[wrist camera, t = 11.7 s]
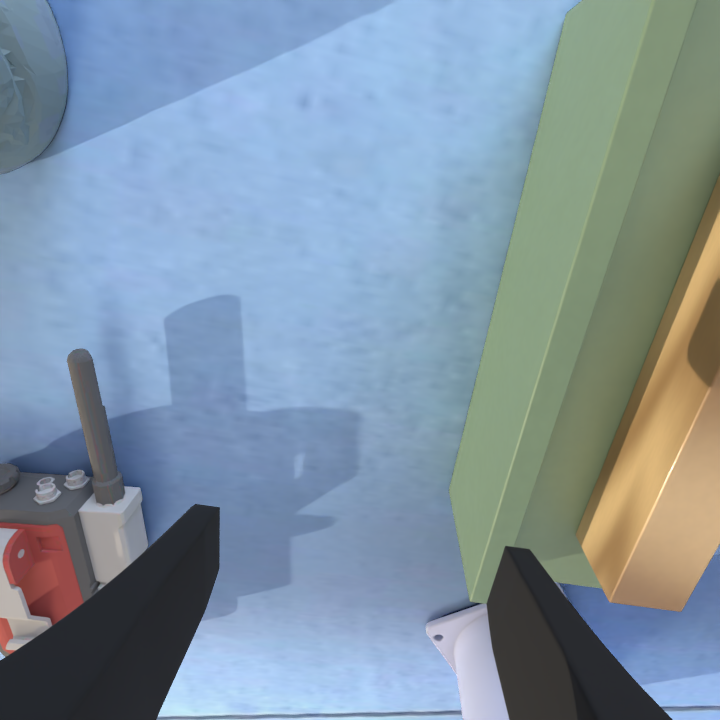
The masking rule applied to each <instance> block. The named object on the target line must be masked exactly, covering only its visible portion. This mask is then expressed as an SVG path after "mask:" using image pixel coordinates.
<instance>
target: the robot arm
mask: <svg viewBox="0 0 720 720" xmlns="http://www.w3.org/2000/svg"><path fill="white" fill-rule="evenodd" d="M219 526H220V507H213V506H205V505H198V504H195V505H194V506H192V507H191V508H190V509H189V510H188V511H187V512H186V513H185V514H184V515H183V516H182V517H181V518H180V519H179V520H178V521H177V522H176V523H174V524H173V525H172V526H171V527H170V528H169V529H168V530H167V531H166V532H165V533H164V534H163V535H162V536H161V537H160V538H159V539H158V540H157V541H156V542H154V543H153V544H152V545H151V546H150V547H149V548H148V549H147V550H146V551H144V552H143V553H142V554H141V555H140V556H139V557H138V558H137V559H136V560H134V561H133V562H132V563H131V564H130V565H129V566H128V567H127V568H125V569H124V570H123V571H122V572H121V573H119V574H118V575H117V576H116V577H115V578H113V579H112V580H111V581H110V582H108V583H107V584H106V585H105V586H104V587H102V588H101V589H100V590H99V591H97V592H96V593H95V594H94V595H93V596H91V597H90V598H89V599H88V600H86V601H85V602H84V603H82V604H81V605H80V606H78V607H77V608H76V609H74V610H73V611H72V612H70V613H69V614H68V615H66V616H65V617H64V618H62V619H61V620H59V621H58V622H57V623H55V624H54V625H52V626H51V627H50V628H48V629H47V630H45V631H44V632H43V633H41V634H40V635H38V636H37V637H35V638H34V639H32V640H31V641H29V642H28V643H26V644H25V645H23V646H22V647H20V648H19V649H17V650H16V651H14V652H13V653H11V654H10V655H8V656H7V657H5V658H3V659H2V660H0V720H156V719H157V716H158V714H159V712H160V709H161V707H162V705H163V702H164V700H165V698H166V696H167V694H168V691H169V689H170V687H171V685H172V683H173V680H174V678H175V676H176V674H177V672H178V669H179V667H180V665H181V663H182V661H183V659H184V656H185V654H186V652H187V650H188V648H189V645H190V643H191V641H192V639H193V637H194V634H195V632H196V630H197V628H198V625H199V623H200V621H201V619H202V617H203V614H204V612H205V610H206V607H207V604H208V601H209V598H210V595H211V592H212V589H213V586H214V583H215V580H216V577H217V574H218V571H219ZM426 633H427V635H428V636H429V637H430V639H431V640H432V642H433V643H434V644H435V646H436V647H437V648H438V650H439V651H440V653H441V654H442V655H443V657H444V658H445V659H446V661H447V662H448V663H449V665H450V666H451V668H452V669H453V670H454V672H455V673H456V674H457V680H458V687H459V695H460V702H461V709H462V717H463V720H672V719H671V718H670V717H669V715H668V714H667V713H666V712H665V711H664V710H663V709H662V708H661V707H660V706H659V705H658V704H657V703H656V702H655V701H654V700H653V699H652V698H651V697H650V696H649V695H648V694H647V693H646V692H645V691H644V690H643V689H642V687H641V686H640V685H639V684H638V683H637V682H636V681H635V680H634V679H633V678H632V677H631V675H630V674H629V673H628V672H627V671H626V670H625V669H624V667H623V666H622V665H621V664H620V663H619V662H618V661H617V659H616V658H615V657H614V656H613V655H612V654H611V653H610V651H609V650H608V649H607V648H606V647H605V646H604V644H603V643H602V642H601V641H600V640H599V638H598V637H597V636H596V635H595V633H594V632H593V631H592V630H591V629H590V627H589V626H588V625H587V624H586V622H585V621H584V620H583V619H582V617H581V616H580V615H579V613H578V612H577V611H576V610H575V608H574V607H573V606H572V605H571V603H570V602H569V601H568V599H567V597H566V595H565V594H564V592H563V590H562V588H561V586H560V585H559V583H558V582H554V581H553V579H552V578H551V577H550V575H549V574H548V573H547V571H546V570H545V569H544V567H543V566H542V565H541V563H540V562H539V561H538V559H537V558H536V557H535V555H534V554H533V553H532V551H531V550H530V549H526V548H519V547H511V546H505V548H504V551H503V554H502V558H501V561H500V564H499V567H498V570H497V573H496V576H495V579H494V582H493V585H492V588H491V591H490V594H489V597H488V601H487V604H483V603H482V604H479V605H476V606H473V607H470V608H468V609H465V610H462V611H459V612H456V613H453V614H450V615H447V616H444V617H441V618H438V619H435V620H433V621H430V622H428V623H427V624H426Z"/></svg>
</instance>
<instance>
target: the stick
mask: <svg viewBox="0 0 720 720" xmlns="http://www.w3.org/2000/svg"><path fill="white" fill-rule="evenodd" d="M576 537H577V539H578V541H579V543H580V545H581V547H582V549H583V551H584V553H585V555H586V557H587V559H588V561H589V563H590V565H591V567H592V569H593V571H594V573H595V575H596V577H597V579H598V581H599V583H600V585H601V587H602V589H603V591H604V593H605V595H606V597H607V599H608V601H609V602H611V603H619V604H626V605H634V606H641V607H648V608H656V609H663V610H671V611H678V612H681V611H682V610H683V608H684V606H685V604H686V603H687V601H688V599H689V597H690V596H691V594H692V592H693V590H694V589H695V587H696V585H697V583H698V582H699V580H700V578H701V576H702V574H703V573H704V571H705V569H706V567H707V566H708V564H709V562H710V560H711V559H712V557H713V555H714V553H715V551H716V550H717V548H718V546H719V544H720V174H719V177H718V179H717V182H716V184H715V187H714V189H713V192H712V194H711V197H710V199H709V202H708V204H707V207H706V209H705V212H704V214H703V217H702V219H701V222H700V224H699V227H698V229H697V232H696V234H695V237H694V239H693V242H692V244H691V247H690V249H689V252H688V254H687V257H686V259H685V262H684V264H683V267H682V269H681V272H680V274H679V277H678V279H677V282H676V284H675V287H674V289H673V292H672V294H671V297H670V299H669V302H668V304H667V307H666V309H665V312H664V314H663V317H662V319H661V322H660V324H659V327H658V329H657V332H656V334H655V337H654V339H653V342H652V344H651V347H650V349H649V352H648V354H647V357H646V359H645V362H644V364H643V367H642V369H641V372H640V374H639V377H638V379H637V382H636V384H635V387H634V390H633V392H632V395H631V397H630V400H629V402H628V405H627V407H626V410H625V412H624V415H623V417H622V420H621V422H620V425H619V427H618V430H617V432H616V435H615V437H614V440H613V442H612V445H611V447H610V450H609V452H608V455H607V457H606V460H605V462H604V465H603V467H602V470H601V472H600V475H599V477H598V480H597V482H596V485H595V487H594V490H593V492H592V495H591V497H590V500H589V502H588V505H587V507H586V510H585V512H584V515H583V517H582V520H581V522H580V525H579V527H578V530H577V532H576Z"/></svg>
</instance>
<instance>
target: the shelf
mask: <svg viewBox="0 0 720 720" xmlns="http://www.w3.org/2000/svg"><path fill="white" fill-rule="evenodd" d="M719 174H720V0H582V1H581V2H579V3H578V4H577V5H576V6H574V7H573V8H572V9H571V10H570V11H568V12H567V14H566V16H565V21H564V25H563V29H562V33H561V37H560V41H559V45H558V49H557V53H556V57H555V61H554V65H553V69H552V73H551V77H550V81H549V86H548V90H547V94H546V98H545V102H544V106H543V110H542V114H541V118H540V122H539V126H538V130H537V134H536V138H535V142H534V146H533V150H532V155H531V159H530V163H529V167H528V171H527V175H526V179H525V183H524V187H523V191H522V195H521V199H520V203H519V207H518V211H517V215H516V219H515V224H514V228H513V232H512V236H511V240H510V244H509V248H508V252H507V256H506V260H505V264H504V268H503V272H502V276H501V280H500V284H499V288H498V293H497V297H496V301H495V305H494V309H493V313H492V317H491V321H490V325H489V329H488V333H487V337H486V341H485V345H484V349H483V353H482V358H481V362H480V366H479V370H478V374H477V378H476V382H475V386H474V390H473V394H472V398H471V402H470V406H469V410H468V414H467V418H466V422H465V427H464V431H463V435H462V439H461V443H460V447H459V451H458V455H457V459H456V463H455V467H454V471H453V475H452V479H451V483H450V487H449V494H450V499H451V504H452V510H453V515H454V520H455V526H456V531H457V536H458V541H459V547H460V552H461V557H462V563H463V568H464V573H465V579H466V584H467V589H468V594H469V600H470V601H471V602H476V603H483V604H487V601H488V597H489V594H490V591H491V588H492V585H493V582H494V579H495V576H496V573H497V570H498V567H499V564H500V561H501V558H502V554H503V551H504V548H505V546H511V547H519V548H526V549H530V550H531V551H532V553H533V554H534V555H535V557H536V558H537V559H538V561H539V562H540V563H541V565H542V566H543V567H544V569H545V570H546V571H547V573H548V574H549V575H550V577H551V578H552V579H553V581H554V582H558V583H565V584H573V585H580V586H587V587H595V588H602V587H601V585H600V583H599V581H598V579H597V577H596V575H595V573H594V571H593V569H592V567H591V565H590V563H589V561H588V559H587V557H586V555H585V553H584V551H583V549H582V547H581V545H580V543H579V541H578V539H577V537H576V532H577V530H578V527H579V525H580V522H581V520H582V517H583V515H584V512H585V510H586V507H587V505H588V502H589V500H590V497H591V495H592V492H593V490H594V487H595V485H596V482H597V480H598V477H599V475H600V472H601V470H602V467H603V465H604V462H605V460H606V457H607V455H608V452H609V450H610V447H611V445H612V442H613V440H614V437H615V435H616V432H617V430H618V427H619V425H620V422H621V420H622V417H623V415H624V412H625V410H626V407H627V405H628V402H629V400H630V397H631V395H632V392H633V390H634V387H635V384H636V382H637V379H638V377H639V374H640V372H641V369H642V367H643V364H644V362H645V359H646V357H647V354H648V352H649V349H650V347H651V344H652V342H653V339H654V337H655V334H656V332H657V329H658V327H659V324H660V322H661V319H662V317H663V314H664V312H665V309H666V307H667V304H668V302H669V299H670V297H671V294H672V292H673V289H674V287H675V284H676V282H677V279H678V277H679V274H680V272H681V269H682V267H683V264H684V262H685V259H686V257H687V254H688V252H689V249H690V247H691V244H692V242H693V239H694V237H695V234H696V232H697V229H698V227H699V224H700V222H701V219H702V217H703V214H704V212H705V209H706V207H707V204H708V202H709V199H710V197H711V194H712V192H713V189H714V187H715V184H716V182H717V179H718V177H719Z"/></svg>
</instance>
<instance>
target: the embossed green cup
mask: <svg viewBox="0 0 720 720" xmlns="http://www.w3.org/2000/svg"><path fill="white" fill-rule="evenodd" d="M67 91H68V81H67V64H66V57H65V51H64V47H63V44H62V40H61V36H60V32H59V28H58V26H57V23H56V21H55V18H54V16H53V13H52V11H51V8H50V6H49V4H48V3H47V1H46V0H0V174H4V173H8V172H10V171H13V170H15V169H18V168H20V167H22V166H24V165H25V164H27V163H28V162H30V161H32V160H33V159H34V158H35V157H37V156H39V155H40V154H41V153H42V152H43V151H44V150H45V149H46V148H47V146H48V145H49V144H50V143H51V141H52V139H53V137H54V136H55V134H56V132H57V130H58V127H59V125H60V122H61V119H62V116H63V113H64V110H65V106H66V99H67Z"/></svg>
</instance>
